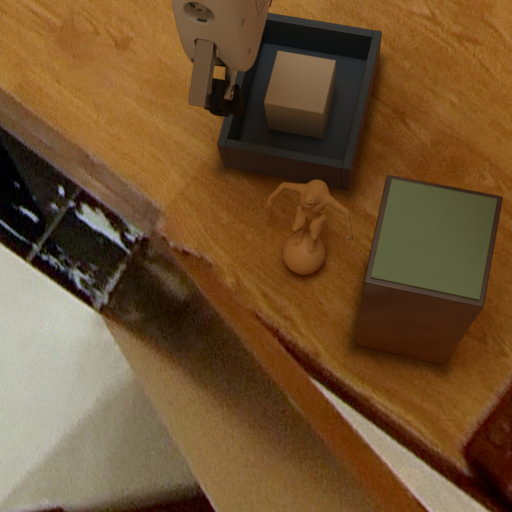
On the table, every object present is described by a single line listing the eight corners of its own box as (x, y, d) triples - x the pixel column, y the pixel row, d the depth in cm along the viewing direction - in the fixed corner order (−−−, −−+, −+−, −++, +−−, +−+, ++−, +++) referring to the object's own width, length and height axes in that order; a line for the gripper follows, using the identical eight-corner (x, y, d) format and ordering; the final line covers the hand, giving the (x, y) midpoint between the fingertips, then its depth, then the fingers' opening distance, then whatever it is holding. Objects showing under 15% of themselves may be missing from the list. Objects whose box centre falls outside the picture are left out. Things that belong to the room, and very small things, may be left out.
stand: (458, 281, 79) (503, 196, 58) (443, 365, 77) (483, 307, 56) (373, 264, 81) (387, 173, 60) (355, 346, 78) (363, 282, 57)
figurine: (256, 259, 82) (243, 216, 70) (284, 205, 83) (276, 155, 72) (335, 296, 80) (335, 258, 69) (362, 240, 81) (367, 194, 70)
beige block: (335, 88, 85) (336, 60, 80) (323, 139, 84) (323, 113, 79) (281, 79, 86) (277, 50, 81) (268, 129, 85) (263, 102, 79)
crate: (379, 59, 87) (382, 30, 82) (349, 191, 83) (350, 170, 78) (258, 38, 89) (254, 9, 84) (223, 167, 85) (216, 144, 80)
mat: (496, 200, 58) (497, 198, 58) (478, 300, 56) (479, 299, 56) (391, 180, 59) (391, 178, 59) (370, 278, 58) (370, 276, 57)
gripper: (235, 42, 49) (260, 161, 66) (298, -197, 54) (307, -30, 70) (111, 23, 50) (166, 145, 67) (184, -210, 55) (219, -43, 71)
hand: (238, 55), depth 68 cm, fingers open, 9 cm apart
